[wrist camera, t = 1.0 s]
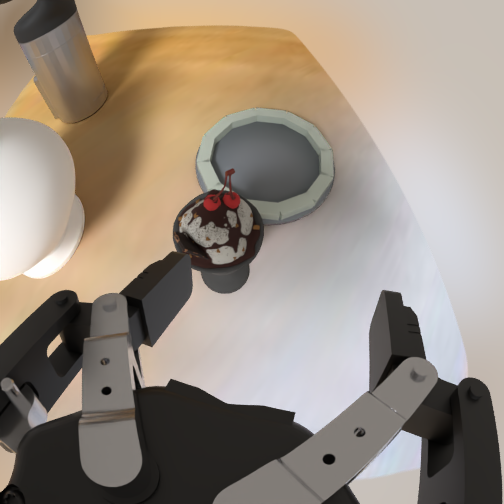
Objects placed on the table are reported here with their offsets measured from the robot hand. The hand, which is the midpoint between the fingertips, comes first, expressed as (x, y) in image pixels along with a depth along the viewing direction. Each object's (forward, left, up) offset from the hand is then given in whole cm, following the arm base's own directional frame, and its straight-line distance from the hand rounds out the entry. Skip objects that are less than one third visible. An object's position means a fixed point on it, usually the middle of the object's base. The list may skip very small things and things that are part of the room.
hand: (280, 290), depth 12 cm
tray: (-1, +20, -18) cm, 27 cm away
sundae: (-4, +6, -19) cm, 20 cm away
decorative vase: (-28, +8, -19) cm, 35 cm away
